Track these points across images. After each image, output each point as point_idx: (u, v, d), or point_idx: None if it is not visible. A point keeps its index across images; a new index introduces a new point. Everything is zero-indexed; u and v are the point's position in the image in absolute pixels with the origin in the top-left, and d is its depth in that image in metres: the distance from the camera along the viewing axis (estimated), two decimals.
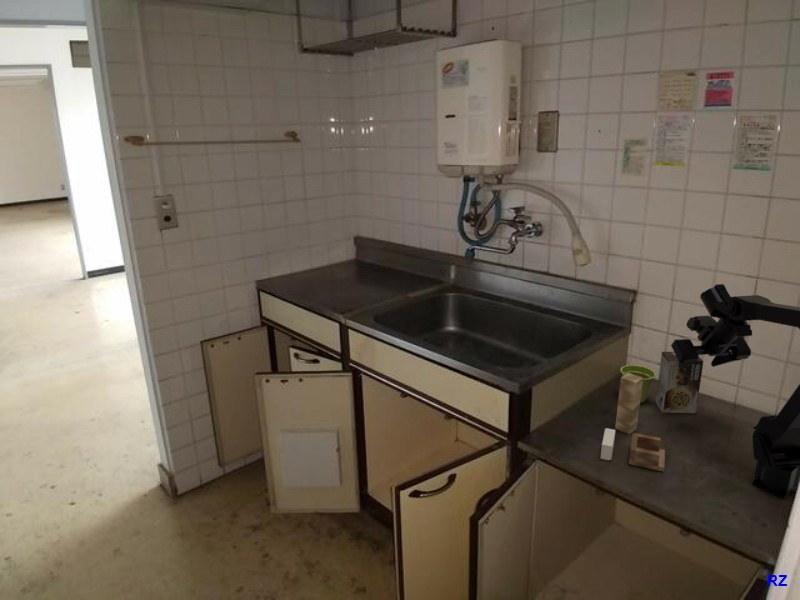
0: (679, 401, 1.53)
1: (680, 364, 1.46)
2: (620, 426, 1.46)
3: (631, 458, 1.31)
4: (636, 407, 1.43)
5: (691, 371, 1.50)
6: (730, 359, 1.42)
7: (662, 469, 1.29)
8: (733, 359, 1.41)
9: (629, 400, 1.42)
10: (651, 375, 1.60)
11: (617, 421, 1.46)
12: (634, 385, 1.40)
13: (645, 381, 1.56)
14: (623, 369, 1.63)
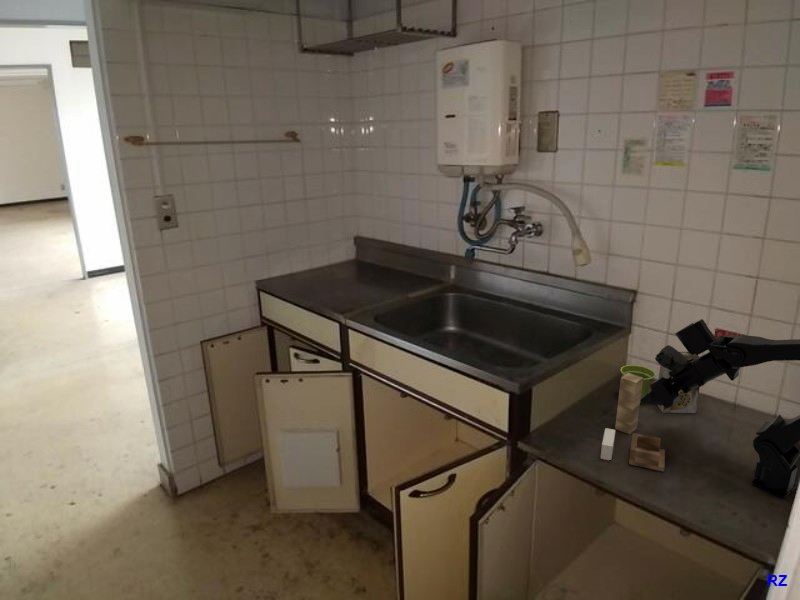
0: (679, 401, 1.53)
1: (646, 400, 1.35)
2: (620, 426, 1.46)
3: (631, 458, 1.31)
4: (636, 407, 1.43)
5: None
6: None
7: (662, 469, 1.29)
8: None
9: (629, 400, 1.42)
10: (651, 375, 1.60)
11: (617, 421, 1.46)
12: (634, 385, 1.40)
13: (645, 381, 1.56)
14: (623, 369, 1.63)
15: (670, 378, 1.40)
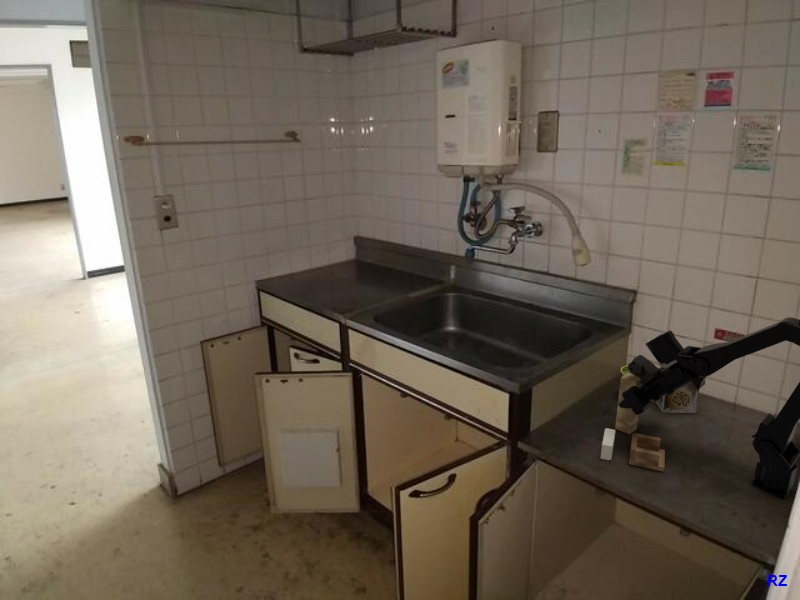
0: (679, 401, 1.53)
1: (623, 404, 1.43)
2: (620, 426, 1.46)
3: (631, 458, 1.31)
4: None
5: None
6: (653, 398, 1.42)
7: (662, 469, 1.29)
8: None
9: None
10: None
11: (617, 421, 1.46)
12: (634, 385, 1.40)
13: None
14: (623, 369, 1.63)
15: None
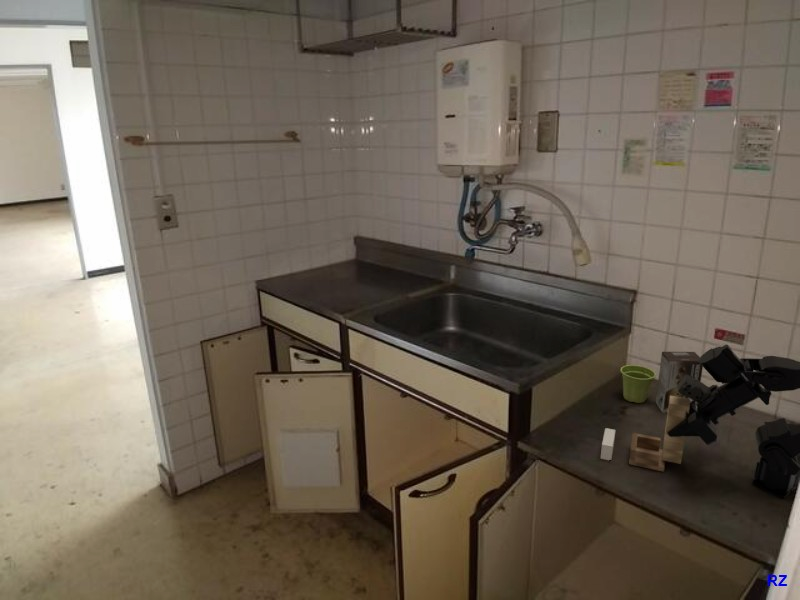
0: None
1: (675, 433, 1.26)
2: (668, 456, 1.29)
3: (631, 458, 1.31)
4: None
5: (691, 371, 1.50)
6: None
7: (662, 469, 1.29)
8: None
9: None
10: (651, 375, 1.60)
11: (665, 451, 1.29)
12: (687, 409, 1.24)
13: (645, 381, 1.56)
14: (623, 369, 1.63)
15: None
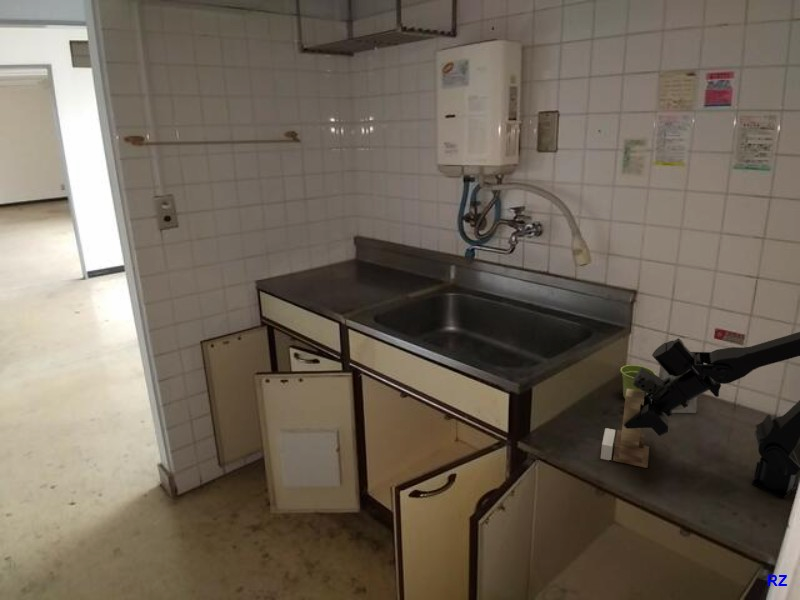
0: None
1: (631, 424, 1.30)
2: None
3: (615, 455, 1.33)
4: None
5: None
6: None
7: (645, 465, 1.30)
8: None
9: None
10: None
11: (622, 443, 1.33)
12: (642, 402, 1.28)
13: None
14: (623, 369, 1.63)
15: None
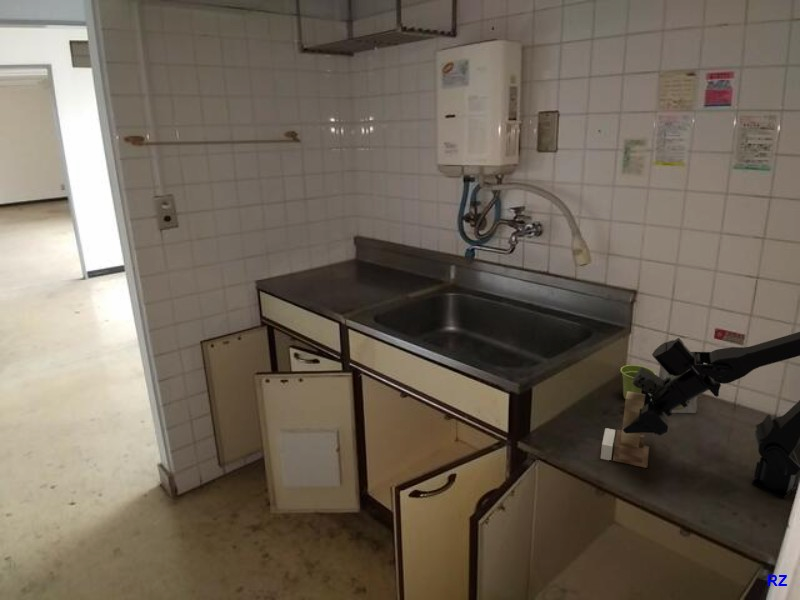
0: None
1: (630, 429, 1.28)
2: None
3: (615, 455, 1.33)
4: None
5: None
6: None
7: (645, 465, 1.30)
8: None
9: None
10: None
11: None
12: (642, 405, 1.28)
13: None
14: (623, 369, 1.63)
15: None
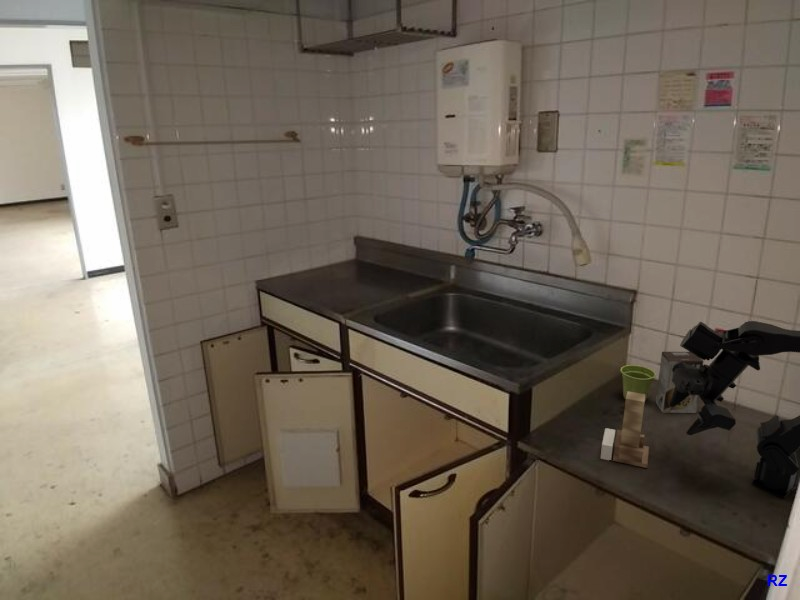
0: None
1: (694, 431, 1.24)
2: None
3: (615, 455, 1.33)
4: None
5: None
6: None
7: (645, 465, 1.30)
8: None
9: (636, 421, 1.30)
10: (651, 375, 1.60)
11: None
12: (642, 405, 1.28)
13: (645, 381, 1.56)
14: (623, 369, 1.63)
15: (679, 390, 1.31)
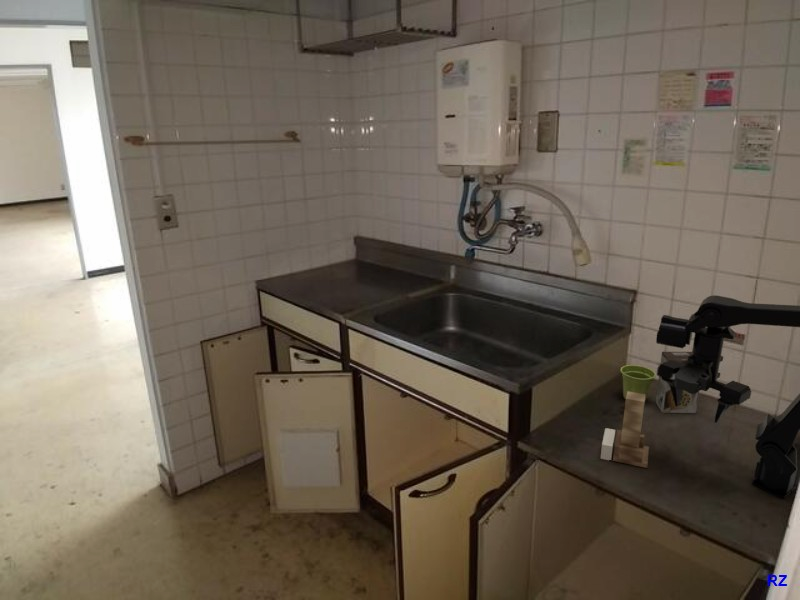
0: None
1: (721, 416, 1.24)
2: None
3: (615, 455, 1.33)
4: None
5: None
6: None
7: (645, 465, 1.30)
8: None
9: (636, 421, 1.30)
10: (651, 375, 1.60)
11: None
12: (642, 405, 1.28)
13: (645, 381, 1.56)
14: (623, 369, 1.63)
15: (676, 389, 1.30)
